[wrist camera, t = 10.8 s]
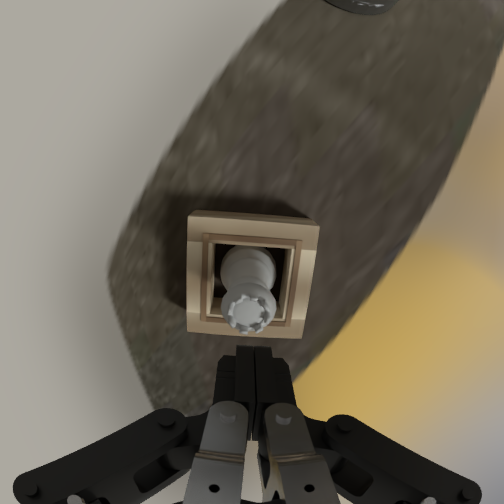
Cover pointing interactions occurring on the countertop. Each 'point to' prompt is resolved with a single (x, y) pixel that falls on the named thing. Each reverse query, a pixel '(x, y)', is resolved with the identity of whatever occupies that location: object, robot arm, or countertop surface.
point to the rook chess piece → (248, 288)
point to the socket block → (251, 234)
